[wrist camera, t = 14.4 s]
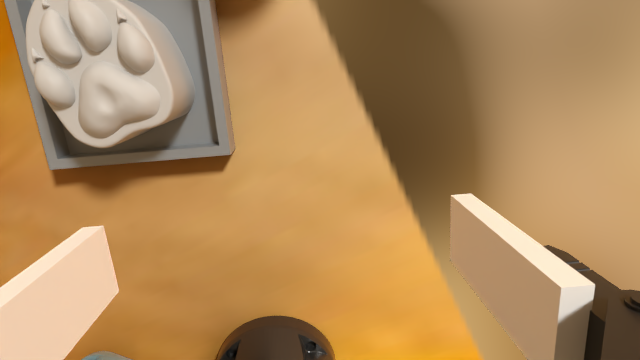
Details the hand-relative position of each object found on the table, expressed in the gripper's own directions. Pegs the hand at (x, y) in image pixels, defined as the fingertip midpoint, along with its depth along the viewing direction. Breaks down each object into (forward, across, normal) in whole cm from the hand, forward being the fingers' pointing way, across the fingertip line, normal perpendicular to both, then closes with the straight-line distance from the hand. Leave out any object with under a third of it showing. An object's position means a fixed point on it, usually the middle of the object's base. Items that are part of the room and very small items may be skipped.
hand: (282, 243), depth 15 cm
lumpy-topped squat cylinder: (+28, +16, -8) cm, 33 cm away
